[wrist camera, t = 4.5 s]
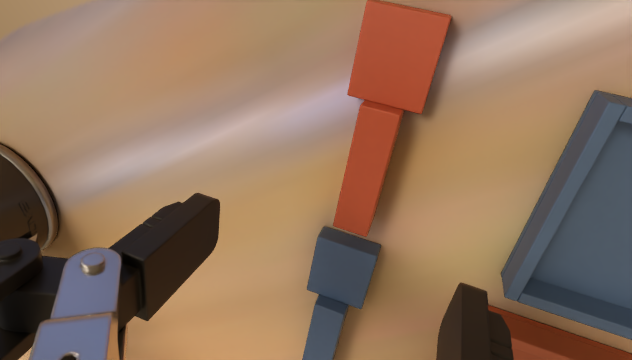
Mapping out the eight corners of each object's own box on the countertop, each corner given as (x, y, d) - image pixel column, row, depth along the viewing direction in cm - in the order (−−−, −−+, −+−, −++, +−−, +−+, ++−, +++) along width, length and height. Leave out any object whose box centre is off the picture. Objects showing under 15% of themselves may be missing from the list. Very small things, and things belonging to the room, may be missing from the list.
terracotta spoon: (388, 222, 22) (382, 242, 20) (328, 203, 22) (317, 221, 21) (452, 15, 17) (451, 19, 15) (372, -2, 17) (362, 0, 16)
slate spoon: (344, 365, 27) (336, 391, 26) (297, 347, 28) (287, 370, 26) (381, 244, 22) (375, 265, 21) (323, 225, 23) (312, 244, 21)
